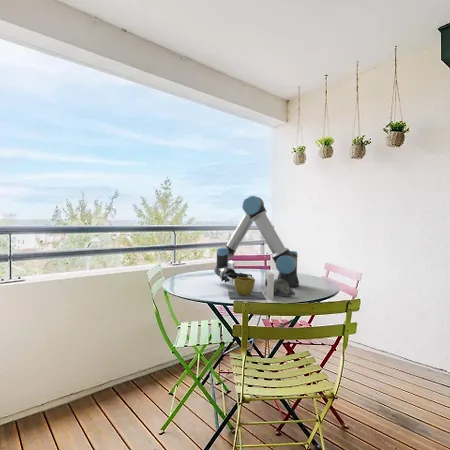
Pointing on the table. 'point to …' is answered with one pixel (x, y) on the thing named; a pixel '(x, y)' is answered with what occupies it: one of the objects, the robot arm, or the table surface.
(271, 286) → the wall socket block
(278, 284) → the mineral rock
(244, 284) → the flower pot
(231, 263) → the cable organizer
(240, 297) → the mat
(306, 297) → the table surface
